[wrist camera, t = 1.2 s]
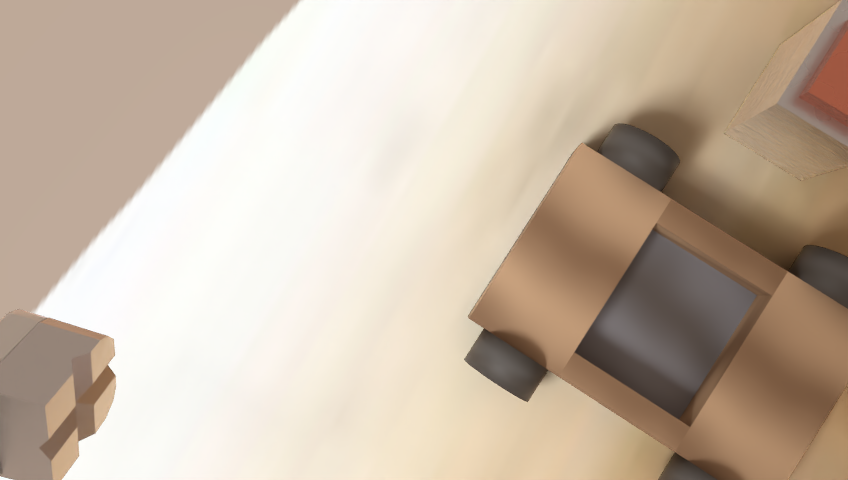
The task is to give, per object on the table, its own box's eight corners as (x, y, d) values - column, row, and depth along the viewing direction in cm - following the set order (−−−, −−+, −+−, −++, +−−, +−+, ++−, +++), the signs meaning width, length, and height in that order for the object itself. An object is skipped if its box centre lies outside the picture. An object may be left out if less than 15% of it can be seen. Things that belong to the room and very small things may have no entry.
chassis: (725, 527, 41) (754, 552, 37) (448, 346, 43) (448, 352, 39) (869, 296, 42) (913, 297, 38) (591, 123, 43) (606, 106, 39)
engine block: (800, 180, 43) (881, 156, 35) (723, 133, 43) (786, 98, 35) (856, 91, 43) (949, 46, 35) (779, 44, 43) (854, -11, 35)
